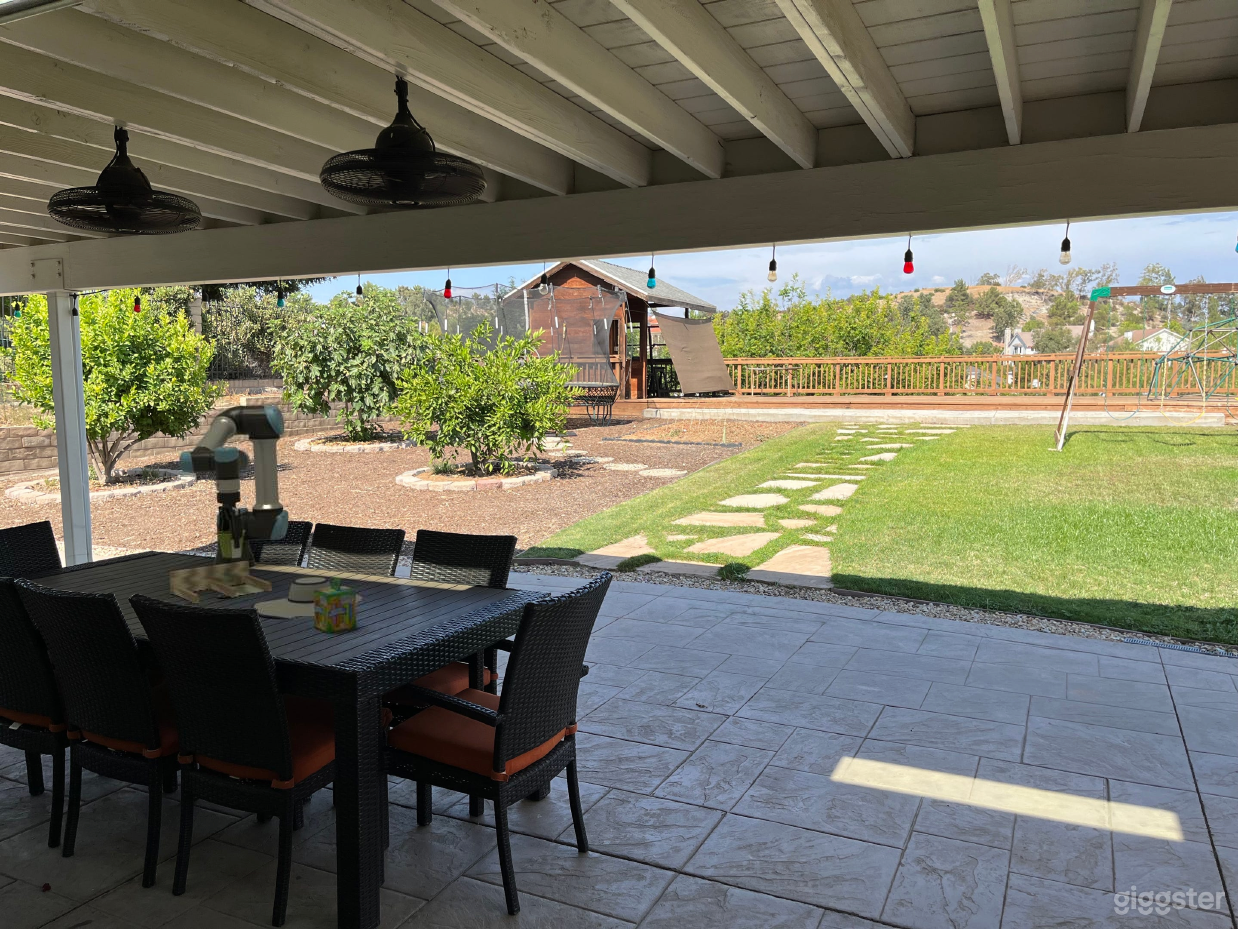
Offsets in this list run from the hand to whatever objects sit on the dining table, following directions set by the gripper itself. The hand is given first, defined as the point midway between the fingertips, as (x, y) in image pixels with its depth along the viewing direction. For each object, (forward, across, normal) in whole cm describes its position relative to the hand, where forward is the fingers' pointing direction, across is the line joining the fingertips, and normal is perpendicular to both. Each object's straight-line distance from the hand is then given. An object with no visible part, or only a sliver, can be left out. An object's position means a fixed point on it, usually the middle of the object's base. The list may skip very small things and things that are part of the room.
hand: (231, 555), depth 301 cm
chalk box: (+13, +70, +3) cm, 72 cm away
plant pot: (0, 0, 0) cm, 0 cm away
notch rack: (+13, -1, -3) cm, 13 cm away
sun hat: (+14, +38, +11) cm, 42 cm away
